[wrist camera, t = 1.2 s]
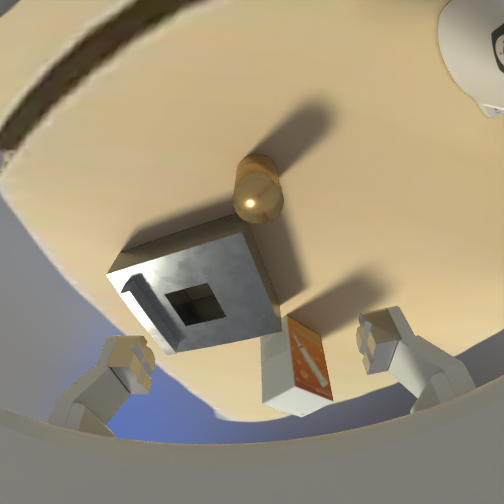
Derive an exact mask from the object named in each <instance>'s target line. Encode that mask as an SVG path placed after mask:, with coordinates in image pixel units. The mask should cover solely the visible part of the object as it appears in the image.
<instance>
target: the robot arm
mask: <svg viewBox="0 0 504 504" xmlns="http://www.w3.org/2000/svg"><path fill="white" fill-rule="evenodd" d="M438 41H439V46H440V50H441V54H442V57H443V60H444V62H445V64H446V67H447V69H448V71H449V73H450V74H451V76H452V77H453V79H454V80H455V82H456V83H457V84H458V86H459V87H460V88H461V89H462V90H463V91H464V92H465V93H467V94H468V95H469V96H471V97H472V98H473V99H474V100H475V101H476V102H477V104H478V105H479V107H480V109H481V110H482V112H483V113H484V115H485V116H487V117H491V118H494V117H496V116H499V115H501V114H503V113H504V0H451V1H450V2H449V3H448V4H447V5H446V6H445V7H444V9H443V10H442V12H441V14H440V17H439V21H438ZM359 323H360V326H359V327H358V328H357V334H356V337H357V345H358V349H359V352H360V353H362V354H363V355H364V358H363V364H364V367H365V369H366V372H367V375H369V374H374V373H379V372H384V371H388V372H389V373H390V374H391V375H392V376H393V377H394V378H396V379H397V380H398V381H399V382H400V383H401V384H402V385H404V386H405V387H406V388H407V389H408V390H409V391H410V392H411V393H413V394H414V395H415V396H416V397H417V398H418V400H417V401H416V403H415V404H414V406H413V407H412V409H411V411H410V412H411V414H409V415H406V416H403V417H400V418H396V419H392V420H389V421H385V422H381V423H378V424H374V425H370V426H365V427H361V428H357V429H352V430H348V431H343V432H338V433H332V434H327V435H321V436H315V437H308V438H301V439H293V440H285V441H276V442H263V443H249V444H223V445H221V444H219V445H205V444H201V445H200V444H196V445H195V444H173V443H159V442H147V441H138V440H129V439H122V438H115V437H114V433H113V432H112V431H111V430H110V429H109V428H108V427H107V426H106V424H107V423H108V422H109V421H110V420H111V418H112V417H113V416H114V415H115V413H116V412H117V411H118V410H119V408H120V407H121V406H122V405H123V403H124V402H125V401H126V400H127V398H128V397H129V396H130V394H149V391H150V387H151V382H152V380H151V378H150V375H151V374H152V373H153V372H154V368H155V357H154V354H153V352H152V350H151V349H150V348H149V347H147V346H146V344H147V341H146V339H145V337H144V336H109V337H108V338H107V339H106V341H105V344H104V346H103V349H102V351H101V354H100V356H99V359H98V362H97V364H96V367H92V368H90V369H89V370H88V371H87V372H86V373H85V374H84V375H83V376H82V377H80V378H79V379H78V380H77V381H76V382H75V383H74V384H72V385H71V386H70V387H69V388H68V389H67V390H66V391H65V392H63V393H62V394H61V395H60V396H59V397H58V398H57V399H56V402H55V404H54V407H53V410H52V412H51V415H50V418H49V421H48V423H45V422H41V421H38V420H35V419H32V418H28V417H25V416H22V415H19V414H16V413H13V412H11V411H8V410H5V409H2V408H0V504H504V375H503V376H501V377H499V378H497V379H495V380H493V381H491V382H489V383H487V384H485V385H483V386H481V387H479V388H477V389H476V387H475V385H474V383H473V381H472V379H471V377H470V375H469V373H468V371H467V369H466V367H465V366H464V363H462V362H461V361H459V360H457V359H456V358H454V357H453V356H451V355H449V354H448V353H446V352H445V351H443V350H441V349H440V348H438V347H436V346H435V345H433V344H432V343H430V342H428V341H427V340H425V339H424V338H422V337H420V336H419V335H418V336H415V335H414V333H413V331H412V329H411V327H410V326H409V324H408V322H407V320H406V318H405V316H404V315H403V313H402V311H401V309H400V307H398V306H394V307H389V308H385V309H379V310H374V311H368V312H363V313H361V314H360V315H359Z"/></svg>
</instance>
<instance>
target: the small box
mask: <svg viewBox="0 0 504 504" xmlns="http://www.w3.org/2000/svg"><path fill="white" fill-rule="evenodd" d="M281 324H282V331H281V332H277V333H273V334H269V335H264V336H260V342H261V373H262V404H264V405H266V406H269V407H272V408H275V409H277V410H280V411H282V412H285V413H290V414H293V415H296V416H300V417H303V416H305V415H308V414H310V413H312V412H314V411H316V410H318V409H320V408H322V407H324V406H326V405H327V404H329V403H331V402H333V396H332V391H331V386H330V381H329V375H328V370H327V365H326V360H325V355H324V351H323V346H322V341H321V336H320V335H319V334H317V333H315V332H313V331H312V330H310V329H308V328H307V327H305V326H303V325H302V324H300V323H299V322H297V321H295V320H294V319H292V318H291V317H289V316H287V315H286V316H284V317H283V318H282V319H281Z"/></svg>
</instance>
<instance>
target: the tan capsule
mask: <svg viewBox="0 0 504 504" xmlns="http://www.w3.org/2000/svg"><path fill="white" fill-rule="evenodd" d="M283 203H284V199H283V194H282V190H281V186H280V182H279V179H278V175H277V171H276V168H275V165H274V163H273V162H272V161H271V160H270V159H269V158H268V157H266V156H264V155H260V154H253V155H249V156H247V157H245V158H244V159H243V160H242V161H241V162H240V163H239V165H238V167H237V173H236V180H235V188H234V195H233V206H234V209H235V211H236V213H237V214H238V215H239V216H240V217H241V218H242V219H243V220H245V221H247V222H250V223H254V224H262V223H267V222H269V221H271V220H273V219H274V218H276V217H277V216H278V214H279V213H280V212H281V210H282V207H283Z"/></svg>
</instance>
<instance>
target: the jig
mask: <svg viewBox="0 0 504 504" xmlns="http://www.w3.org/2000/svg"><path fill="white" fill-rule="evenodd" d="M107 277H108V278H109V279H110V281H111V282H112V284H113V285H114V287H115V288H116V289H117V291H118V292H119V294H120V296H121V297H122V299H123V300H124V301H125V303H126V304H127V305H128V307H129V308H130V309H131V311H132V312H133V313H134V315H135V316H136V317H137V319H138V320H139V321H140V322H141V324H142V325H143V326H144V328H145V329H146V330H147V331H148V333H149V334H150V335H151V336H152V338H153V339H154V340H155V341H156V343H157V344H158V345H159V346H160V347H161V349H162V350H163V351H164V352H165V353H166V355H171V354H177V352H183V351H189V350H195V349H200V348H206V347H211V346H216V345H222V344H227V343H232V342H236V341H241V340H246V339H251V338H255V337H260V336H264V335H269V334H273V333H277V332H281V331H282V324H281V315H280V306H279V303H278V301H277V298H276V295H275V293H274V290H273V288H272V285H271V282H270V280H269V277H268V275H267V272H266V270H265V267H264V264H263V262H262V259H261V257H260V254H259V252H258V249H257V246H256V244H255V241H254V239H253V236H252V234H251V231H250V228H249V226H248V223H247V221H245V220H243V219H242V218H241V217H240V216H239V215H238V214H237V213H236V214H233V215H230V216H227V217H224V218H220V219H217V220H214V221H211V222H208V223H205V224H202V225H199V226H196V227H193V228H190V229H187V230H184V231H181V232H178V233H175V234H172V235H169V236H166V237H163V238H160V239H157V240H154V241H151V242H149V243H146V244H143V245H140V246H137V247H134V248H132V249H129V250H126V251H123V252H120V253H119V255H118V256H117V258H116V260H115V261H114V263H113V265H112V266H111V268H110V270H109V271H108V273H107ZM205 283H208V284H209V286H210V288H211V290H212V291H213V293H214V296H210V297H206V298H202V299H198V300H194V301H190V299H189V297H188V296H187V294H186V292H185V291H184V289H186V288H190V287H193V286H197V285H201V284H205Z"/></svg>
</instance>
